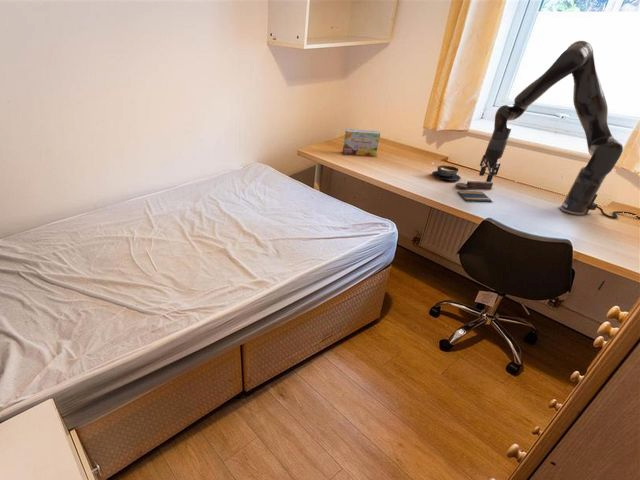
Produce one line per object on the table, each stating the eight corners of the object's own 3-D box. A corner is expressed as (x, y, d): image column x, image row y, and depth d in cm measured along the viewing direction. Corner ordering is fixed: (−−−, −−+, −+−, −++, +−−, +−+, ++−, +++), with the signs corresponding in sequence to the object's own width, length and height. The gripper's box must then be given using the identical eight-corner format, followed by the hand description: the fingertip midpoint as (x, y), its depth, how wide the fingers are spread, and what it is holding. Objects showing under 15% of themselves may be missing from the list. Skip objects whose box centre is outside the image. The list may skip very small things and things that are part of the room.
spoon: (487, 186, 202) (489, 180, 200) (492, 190, 197) (494, 184, 195) (454, 185, 203) (456, 179, 201) (458, 189, 198) (460, 183, 197)
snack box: (342, 154, 247) (345, 130, 239) (342, 151, 252) (345, 128, 243) (375, 157, 242) (380, 133, 234) (375, 154, 247) (380, 130, 238)
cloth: (481, 193, 194) (482, 191, 194) (491, 202, 185) (492, 200, 185) (457, 192, 195) (457, 190, 195) (465, 201, 186) (466, 199, 186)
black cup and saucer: (452, 184, 204) (457, 171, 200) (424, 176, 214) (427, 163, 209) (464, 177, 212) (469, 164, 208) (436, 170, 222) (440, 157, 218)
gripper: (482, 143, 194) (471, 173, 203) (494, 151, 182) (483, 183, 192) (497, 143, 193) (486, 173, 203) (511, 152, 182) (498, 183, 191)
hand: (484, 178), depth 197 cm, fingers open, 8 cm apart
